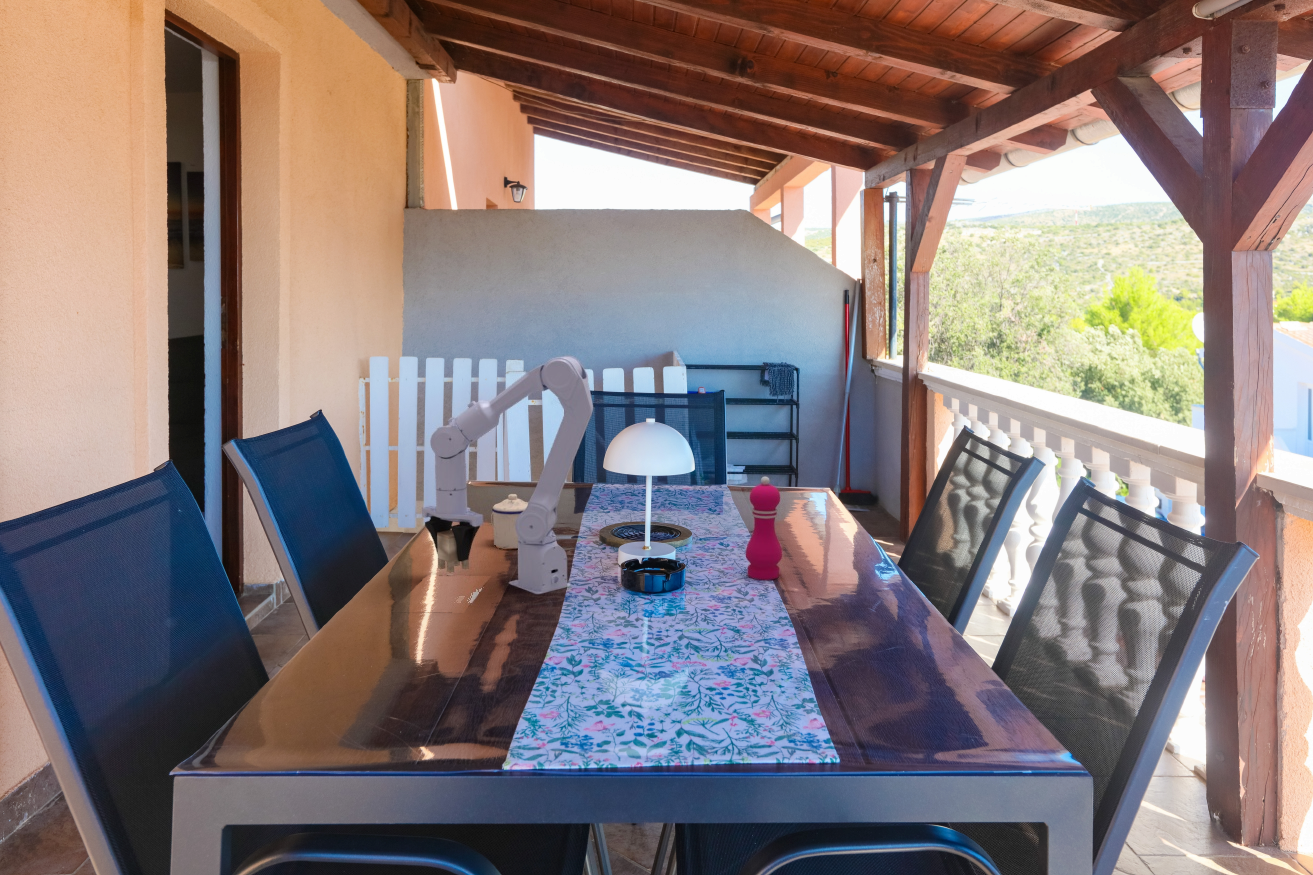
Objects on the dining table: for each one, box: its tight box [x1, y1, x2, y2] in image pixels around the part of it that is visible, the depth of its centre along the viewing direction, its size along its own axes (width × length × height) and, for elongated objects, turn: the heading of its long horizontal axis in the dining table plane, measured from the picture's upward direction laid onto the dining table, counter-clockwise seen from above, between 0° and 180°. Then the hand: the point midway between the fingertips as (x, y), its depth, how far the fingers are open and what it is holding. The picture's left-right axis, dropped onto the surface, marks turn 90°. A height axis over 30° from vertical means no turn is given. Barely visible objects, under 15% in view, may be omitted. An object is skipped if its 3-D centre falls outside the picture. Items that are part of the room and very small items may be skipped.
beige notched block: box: [437, 529, 470, 573], centre depth 169 cm, size 4×4×7 cm
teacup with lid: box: [490, 493, 529, 548], centre depth 199 cm, size 12×9×12 cm
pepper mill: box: [745, 476, 783, 581], centre depth 175 cm, size 7×7×20 cm
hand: (453, 558), depth 170 cm, fingers closed on beige notched block, 5 cm apart
